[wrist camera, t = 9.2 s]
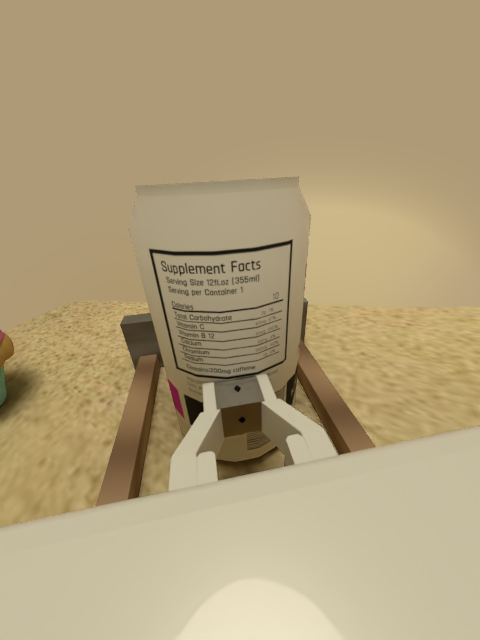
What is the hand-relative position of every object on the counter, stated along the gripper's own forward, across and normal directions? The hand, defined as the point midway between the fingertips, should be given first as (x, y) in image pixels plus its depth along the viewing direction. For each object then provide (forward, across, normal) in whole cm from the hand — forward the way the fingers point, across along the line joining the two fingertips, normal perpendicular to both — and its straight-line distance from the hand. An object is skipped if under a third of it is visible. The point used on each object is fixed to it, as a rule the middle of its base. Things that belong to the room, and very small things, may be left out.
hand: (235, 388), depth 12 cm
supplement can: (+4, 0, +7) cm, 8 cm away
